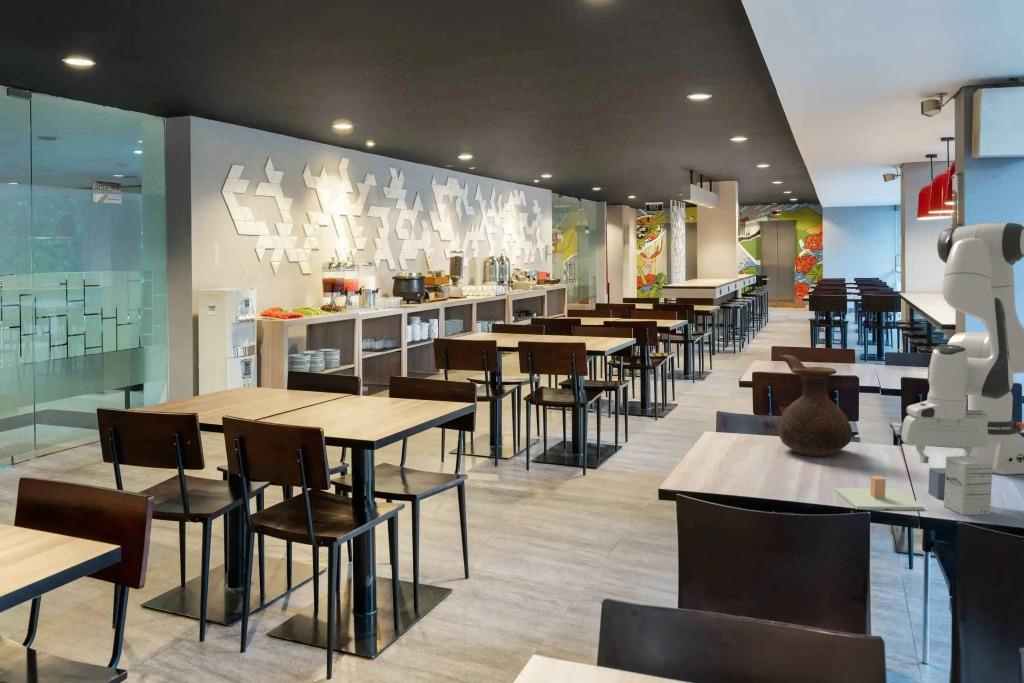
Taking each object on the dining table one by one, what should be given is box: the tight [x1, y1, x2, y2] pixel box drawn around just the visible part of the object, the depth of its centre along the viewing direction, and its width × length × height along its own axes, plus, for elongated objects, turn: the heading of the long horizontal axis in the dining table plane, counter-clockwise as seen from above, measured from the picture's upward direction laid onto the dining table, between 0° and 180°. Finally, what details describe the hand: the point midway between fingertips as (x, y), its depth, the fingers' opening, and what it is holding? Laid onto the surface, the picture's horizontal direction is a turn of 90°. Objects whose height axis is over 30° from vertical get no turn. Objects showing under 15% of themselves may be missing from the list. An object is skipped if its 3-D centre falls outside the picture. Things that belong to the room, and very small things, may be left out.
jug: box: [777, 354, 853, 457], centre depth 256 cm, size 22×22×30 cm
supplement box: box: [943, 455, 993, 516], centre depth 196 cm, size 7×7×13 cm
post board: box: [834, 475, 925, 511], centre depth 205 cm, size 16×16×6 cm
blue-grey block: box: [928, 467, 946, 500], centre depth 208 cm, size 5×5×7 cm
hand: (943, 463), depth 208 cm, fingers open, 8 cm apart
